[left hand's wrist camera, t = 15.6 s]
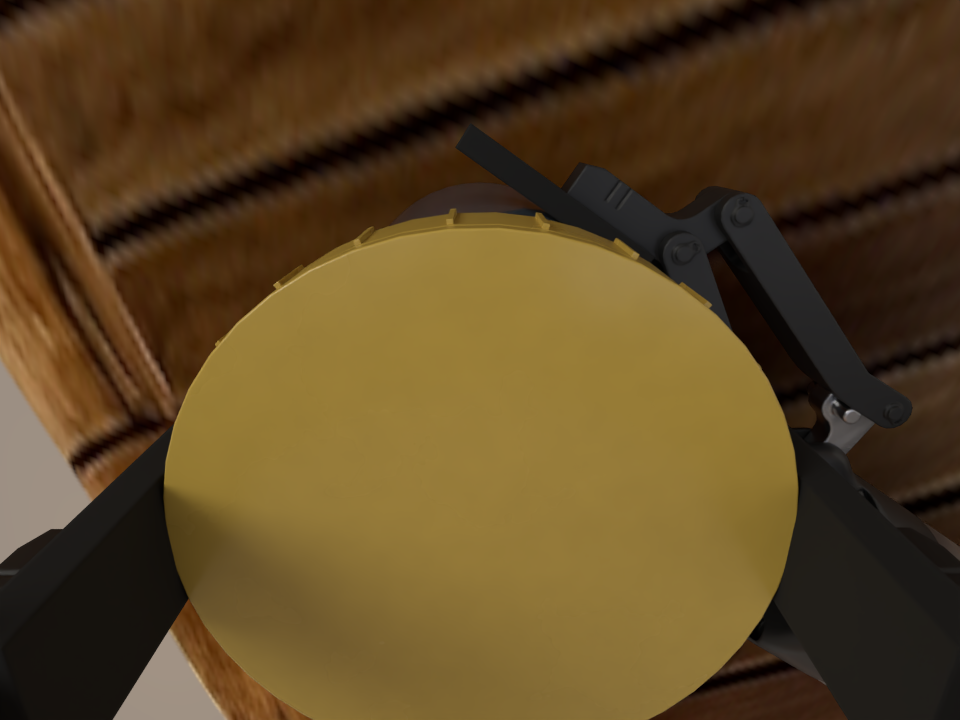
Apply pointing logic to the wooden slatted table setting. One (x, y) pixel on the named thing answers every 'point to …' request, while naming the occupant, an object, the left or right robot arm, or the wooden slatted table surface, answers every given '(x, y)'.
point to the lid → (480, 480)
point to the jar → (472, 202)
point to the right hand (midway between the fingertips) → (371, 284)
